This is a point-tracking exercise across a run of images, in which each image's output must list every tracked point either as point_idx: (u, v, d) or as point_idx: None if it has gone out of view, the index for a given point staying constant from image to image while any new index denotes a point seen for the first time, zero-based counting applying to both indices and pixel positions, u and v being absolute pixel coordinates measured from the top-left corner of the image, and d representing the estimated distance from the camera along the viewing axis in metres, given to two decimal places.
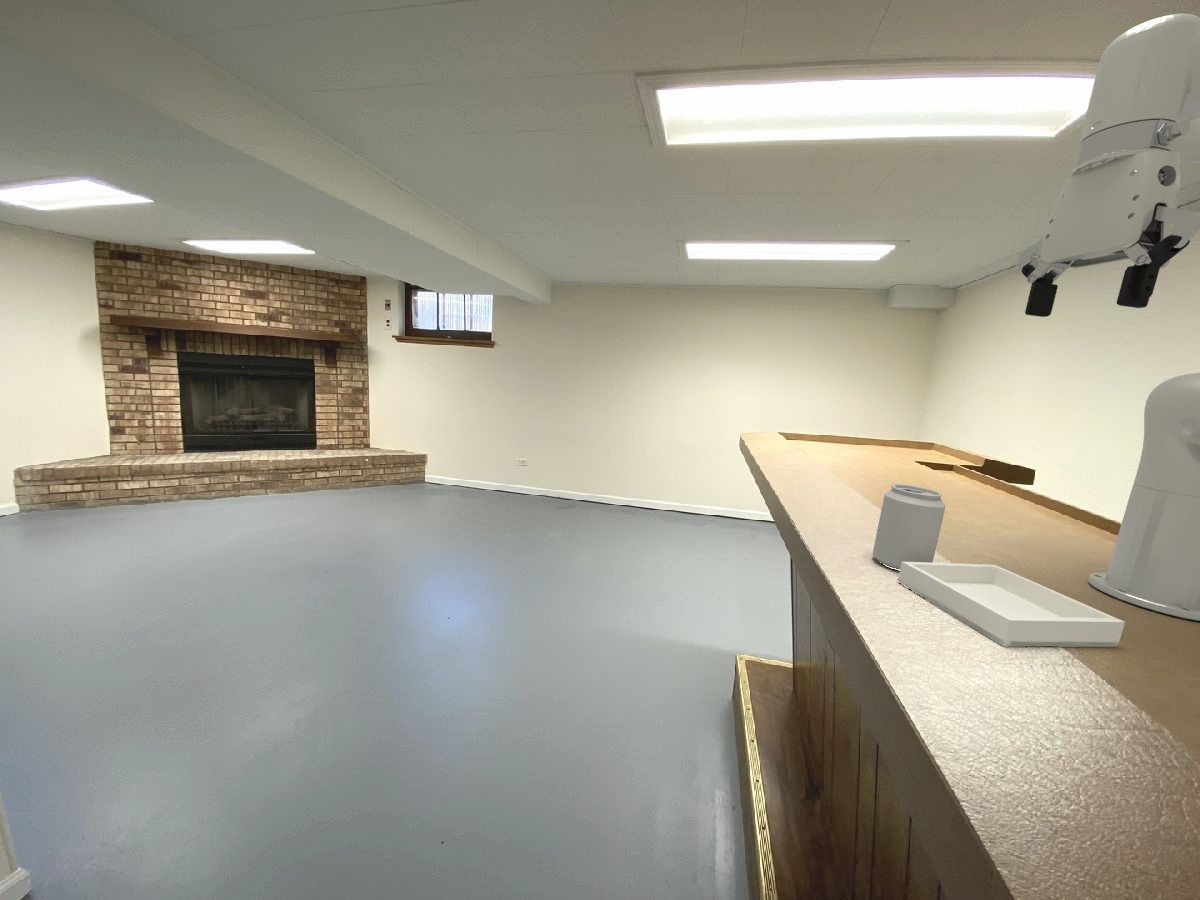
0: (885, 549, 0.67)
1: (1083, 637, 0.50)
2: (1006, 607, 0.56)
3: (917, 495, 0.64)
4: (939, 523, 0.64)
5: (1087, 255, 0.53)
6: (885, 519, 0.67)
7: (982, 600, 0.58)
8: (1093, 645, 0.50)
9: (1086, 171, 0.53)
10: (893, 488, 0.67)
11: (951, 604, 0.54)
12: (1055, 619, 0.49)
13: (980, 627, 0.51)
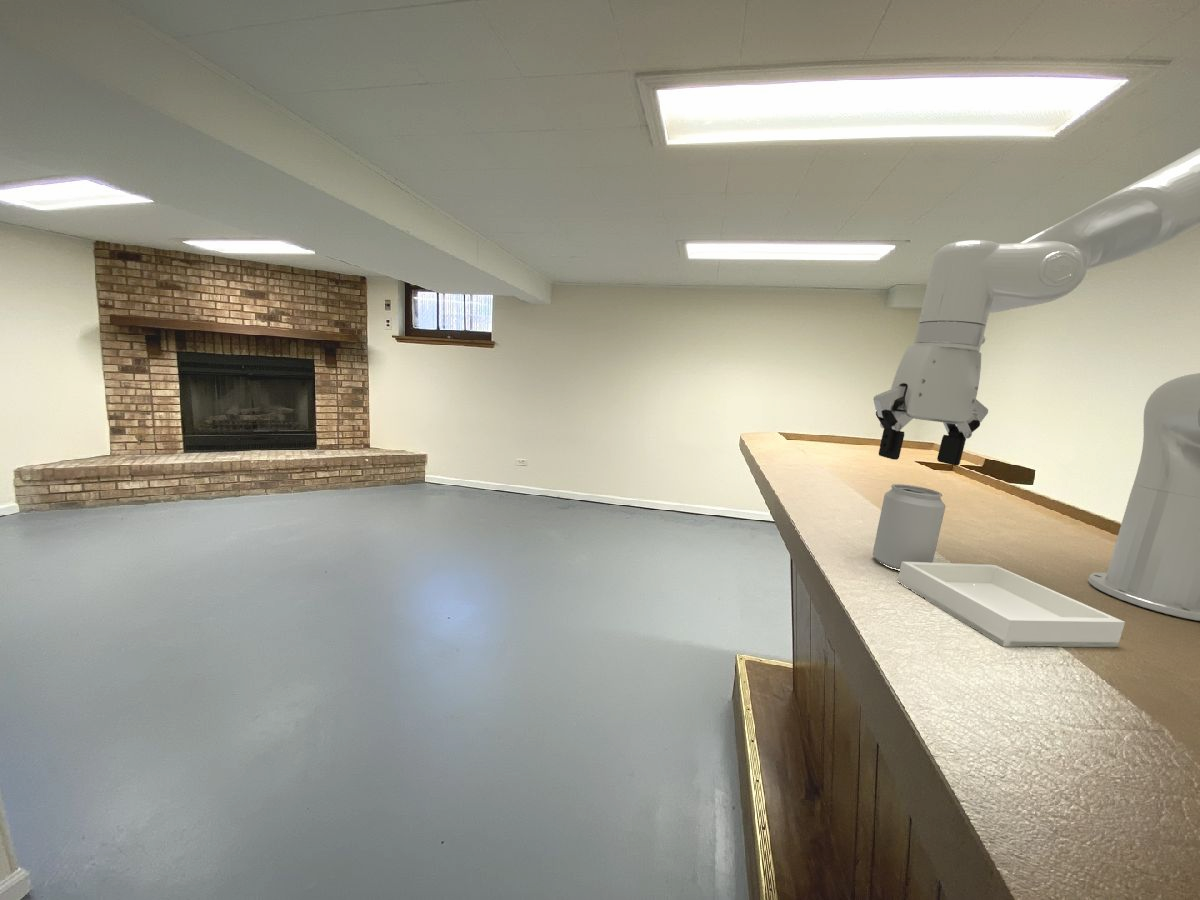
0: (885, 549, 0.67)
1: (1083, 637, 0.50)
2: (1006, 607, 0.56)
3: (917, 495, 0.64)
4: (939, 523, 0.64)
5: (941, 421, 0.64)
6: (885, 519, 0.67)
7: (982, 600, 0.58)
8: (1093, 645, 0.50)
9: (952, 349, 0.61)
10: (893, 488, 0.67)
11: (951, 604, 0.54)
12: (1055, 619, 0.49)
13: (980, 627, 0.51)
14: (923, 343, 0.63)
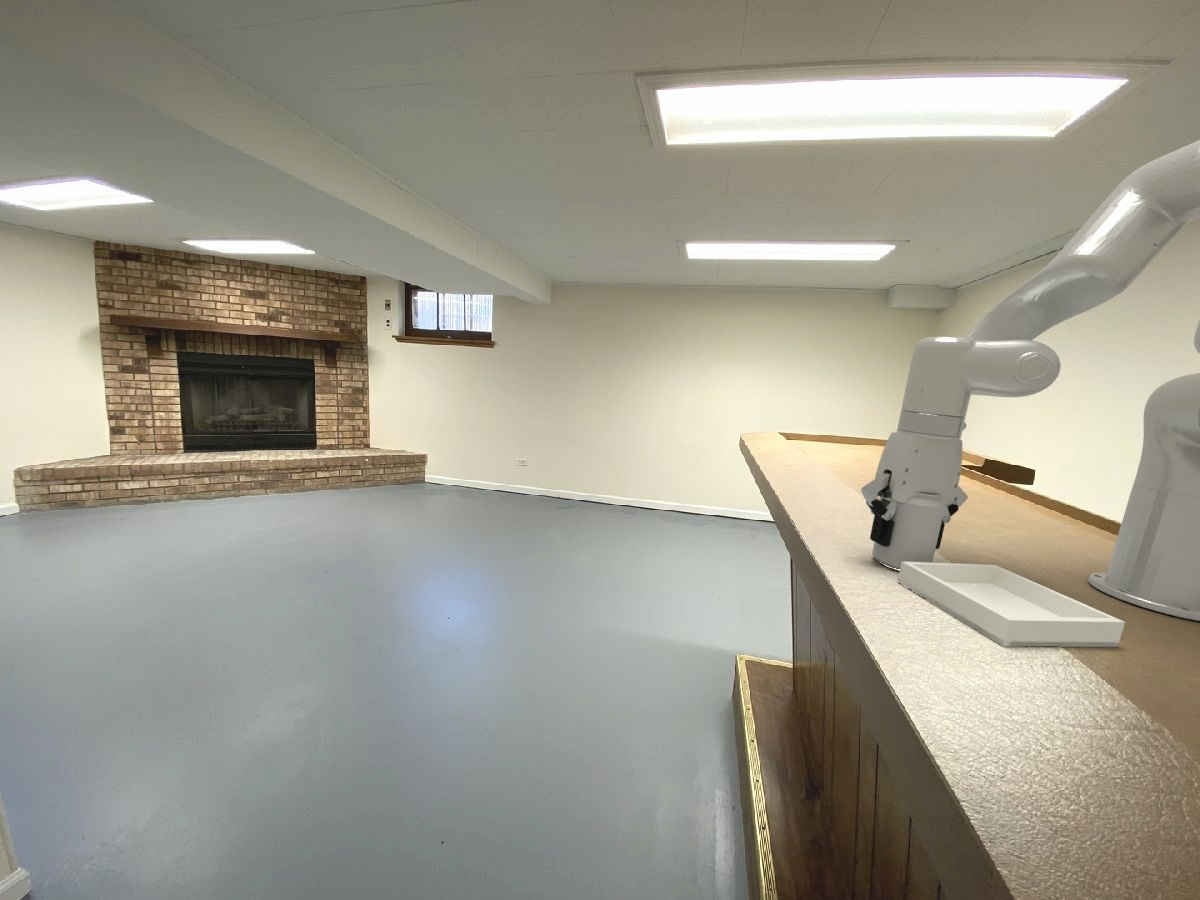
0: (884, 549, 0.67)
1: (1083, 637, 0.50)
2: (1006, 607, 0.56)
3: (917, 495, 0.64)
4: (939, 523, 0.65)
5: None
6: None
7: (982, 600, 0.58)
8: (1093, 645, 0.50)
9: (934, 439, 0.63)
10: None
11: (951, 604, 0.54)
12: (1055, 619, 0.49)
13: (980, 627, 0.51)
14: (906, 432, 0.65)
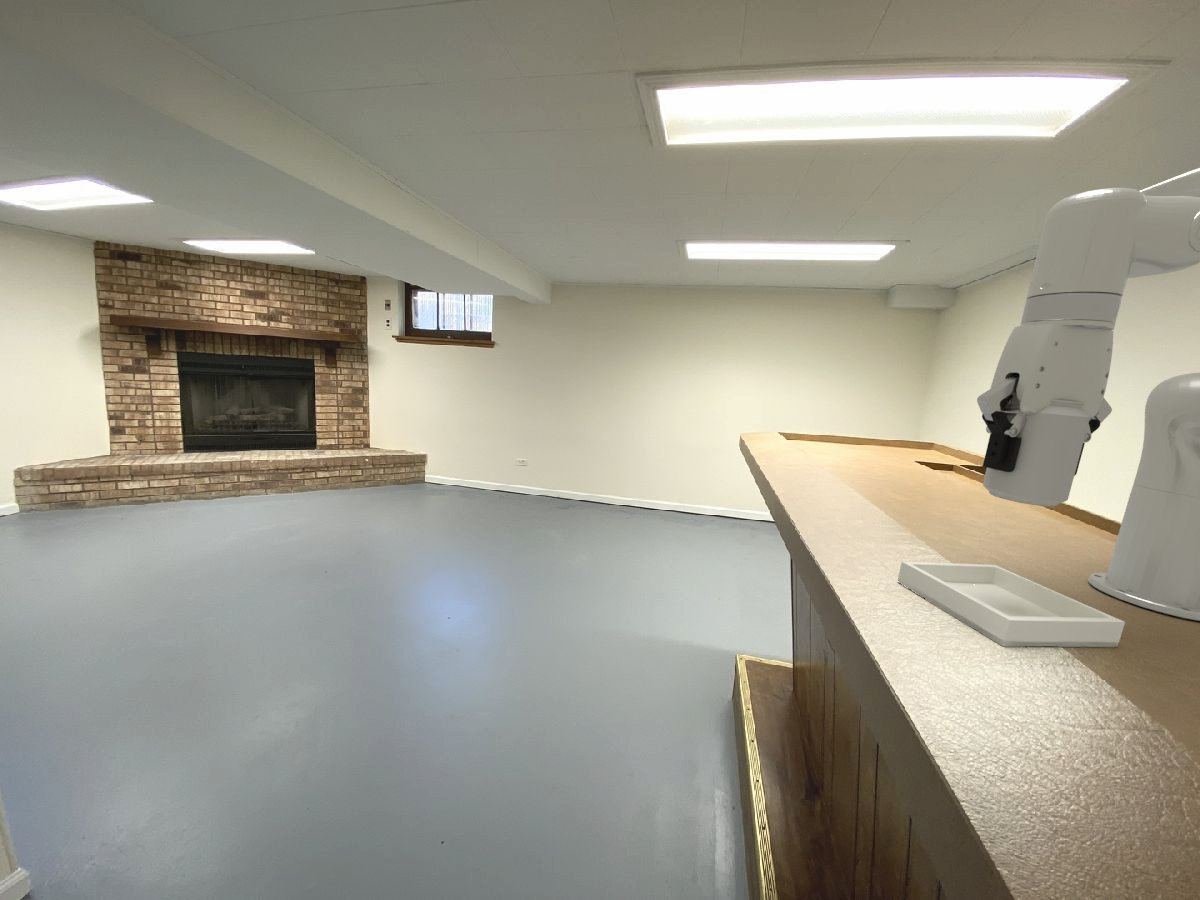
0: (1005, 476, 0.53)
1: (1083, 637, 0.50)
2: (1006, 607, 0.56)
3: (1054, 403, 0.50)
4: (1082, 438, 0.50)
5: None
6: None
7: (982, 600, 0.58)
8: (1093, 645, 0.50)
9: (1079, 327, 0.49)
10: None
11: (951, 604, 0.54)
12: (1055, 619, 0.49)
13: (980, 627, 0.51)
14: (1038, 322, 0.50)
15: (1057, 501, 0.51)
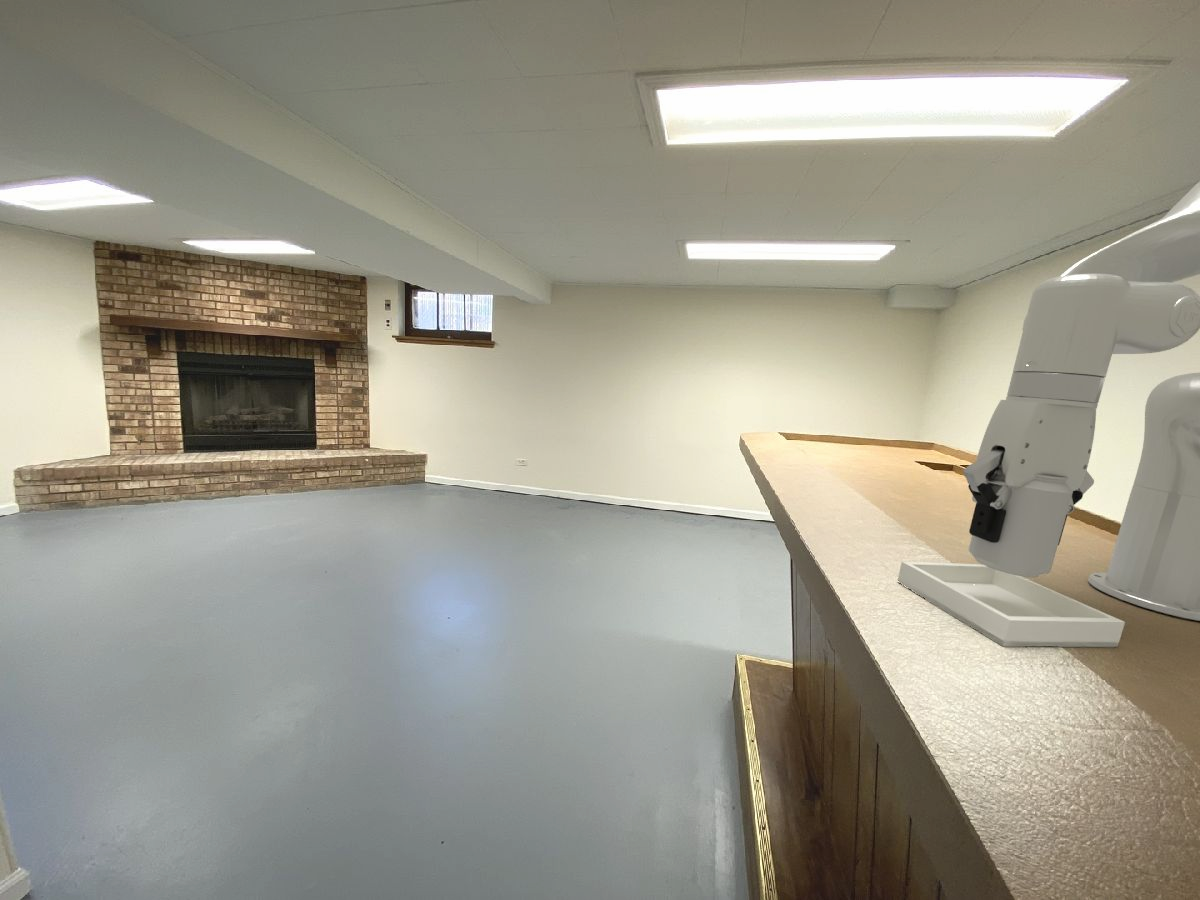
0: (991, 545, 0.54)
1: (1083, 637, 0.50)
2: (1006, 607, 0.56)
3: (1038, 478, 0.51)
4: (1065, 513, 0.51)
5: None
6: None
7: (982, 600, 0.58)
8: (1093, 645, 0.50)
9: (1063, 406, 0.50)
10: None
11: (951, 604, 0.54)
12: (1055, 619, 0.49)
13: (980, 627, 0.51)
14: (1024, 398, 0.51)
15: (1040, 573, 0.52)
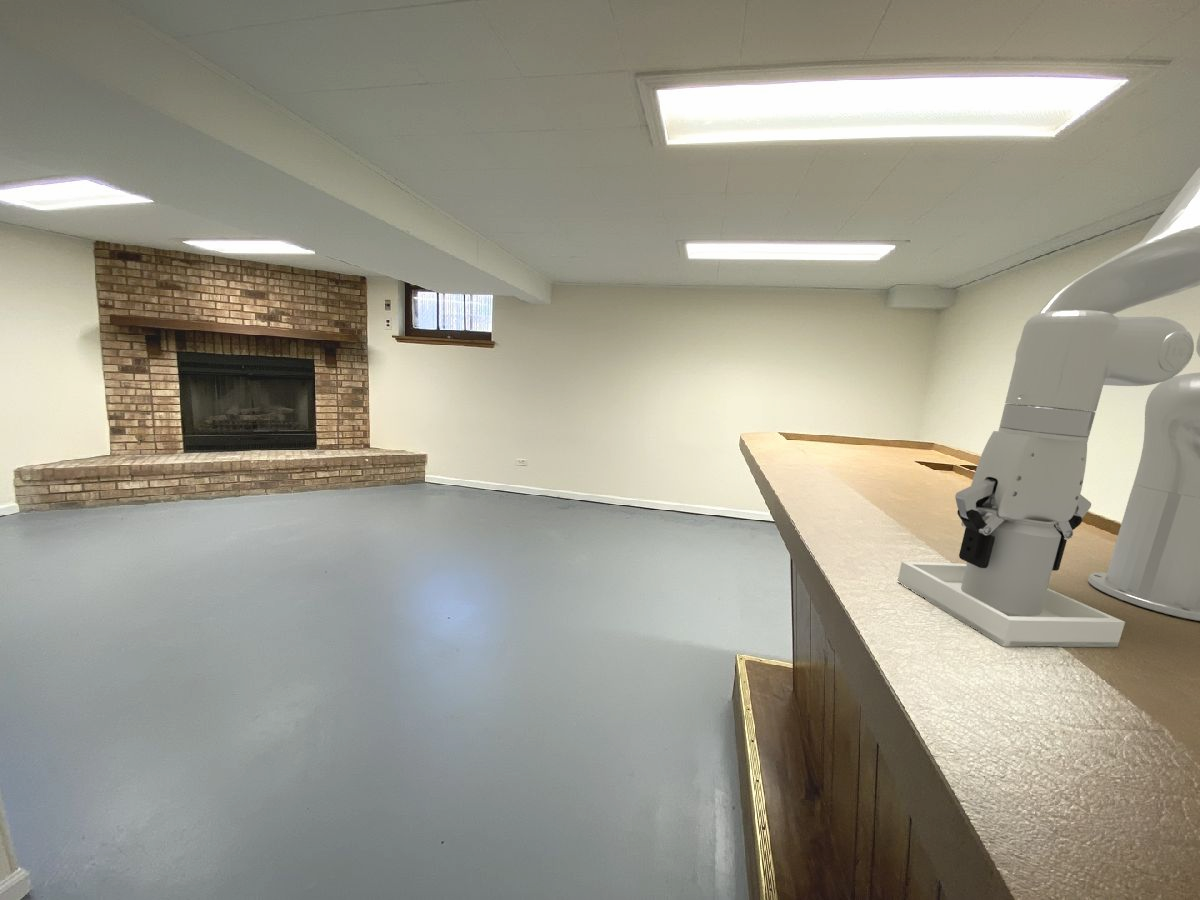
0: (982, 587, 0.55)
1: (1083, 637, 0.50)
2: None
3: (1027, 522, 0.52)
4: (1054, 557, 0.52)
5: None
6: None
7: None
8: (1093, 645, 0.50)
9: (1055, 440, 0.50)
10: None
11: (951, 604, 0.54)
12: (1055, 619, 0.49)
13: (980, 627, 0.51)
14: (1016, 430, 0.52)
15: (1030, 616, 0.53)
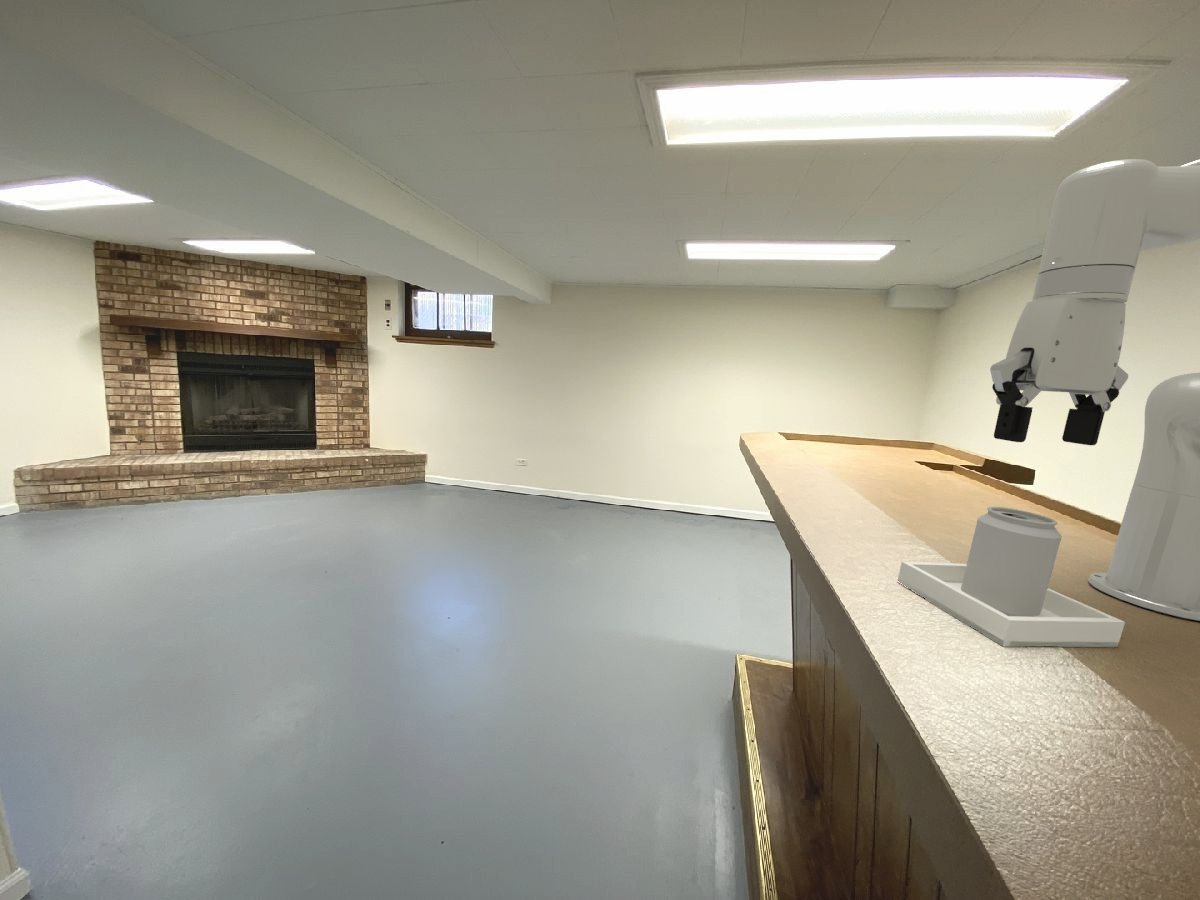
0: (982, 587, 0.55)
1: (1083, 637, 0.50)
2: None
3: (1028, 523, 0.52)
4: (1054, 557, 0.52)
5: (1077, 391, 0.51)
6: (982, 550, 0.55)
7: None
8: (1093, 645, 0.50)
9: (1093, 300, 0.49)
10: (992, 513, 0.55)
11: (951, 604, 0.54)
12: (1055, 619, 0.49)
13: (980, 627, 0.51)
14: (1052, 296, 0.50)
15: (1030, 616, 0.53)
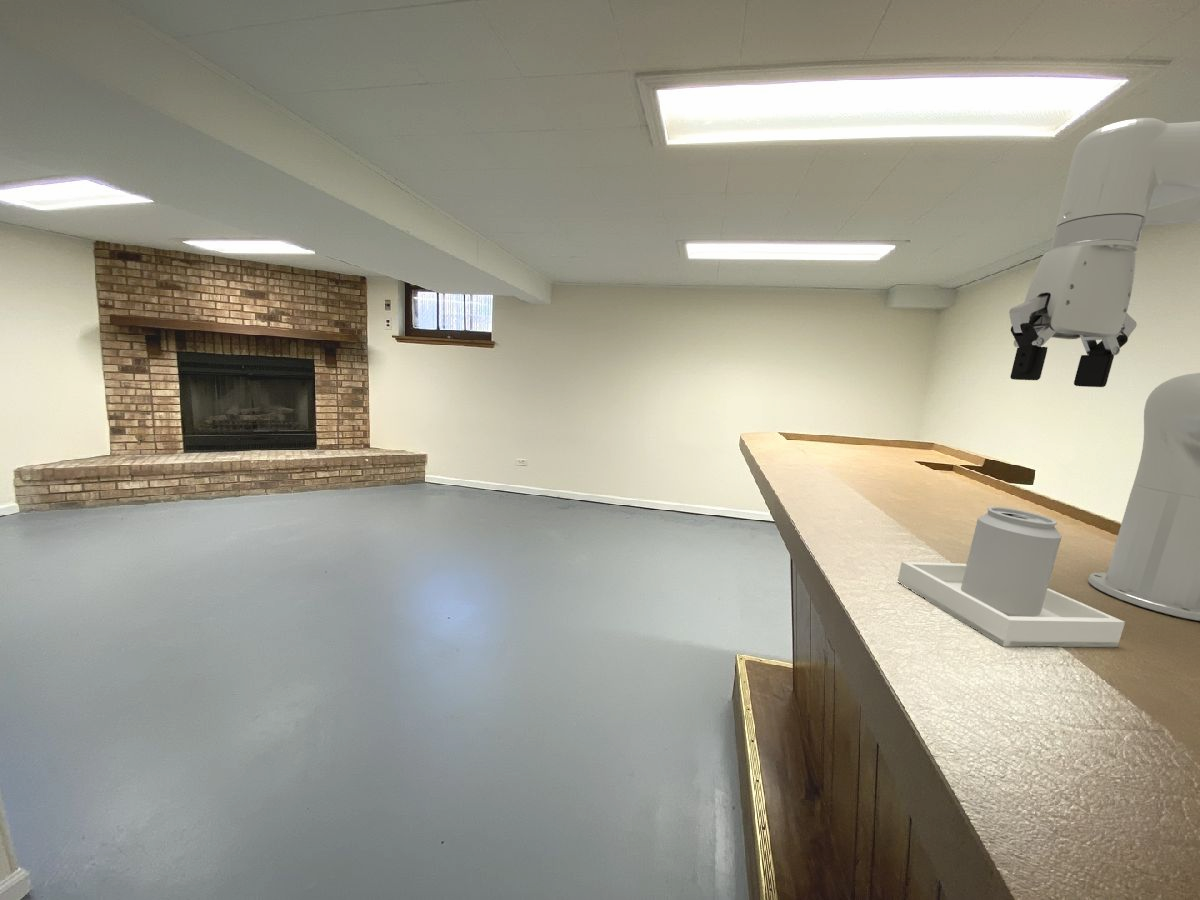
0: (982, 587, 0.55)
1: (1083, 637, 0.50)
2: None
3: (1028, 523, 0.52)
4: (1054, 557, 0.52)
5: (1089, 334, 0.56)
6: (982, 550, 0.55)
7: None
8: (1093, 645, 0.50)
9: (1106, 248, 0.53)
10: (992, 513, 0.55)
11: (951, 604, 0.54)
12: (1055, 619, 0.49)
13: (980, 627, 0.51)
14: (1068, 245, 0.55)
15: (1030, 616, 0.53)
